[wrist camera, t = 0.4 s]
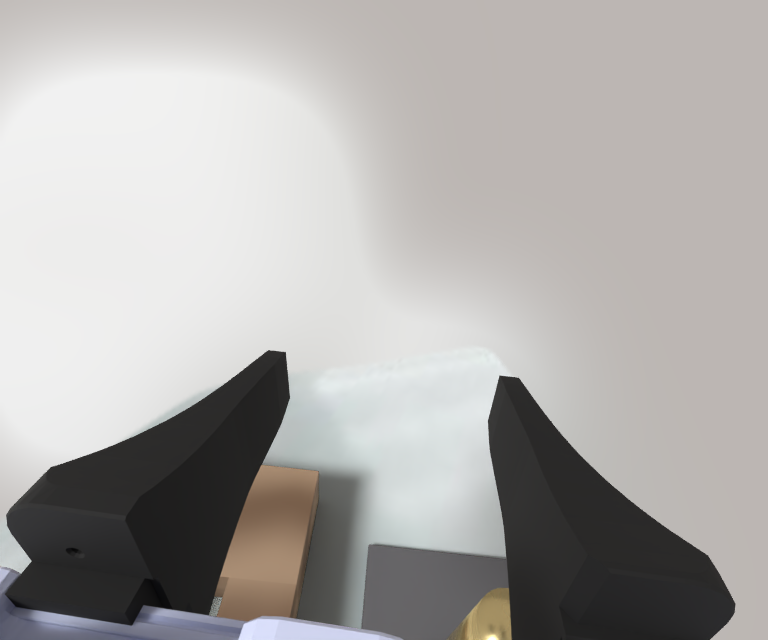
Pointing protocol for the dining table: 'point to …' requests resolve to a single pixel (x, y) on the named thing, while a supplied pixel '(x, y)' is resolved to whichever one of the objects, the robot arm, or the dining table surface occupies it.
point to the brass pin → (487, 619)
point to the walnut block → (270, 546)
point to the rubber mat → (425, 590)
